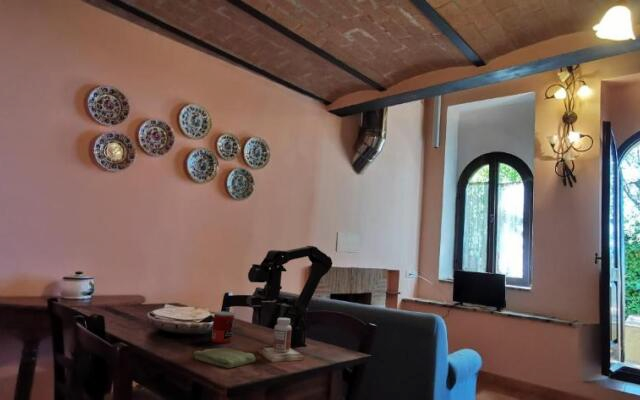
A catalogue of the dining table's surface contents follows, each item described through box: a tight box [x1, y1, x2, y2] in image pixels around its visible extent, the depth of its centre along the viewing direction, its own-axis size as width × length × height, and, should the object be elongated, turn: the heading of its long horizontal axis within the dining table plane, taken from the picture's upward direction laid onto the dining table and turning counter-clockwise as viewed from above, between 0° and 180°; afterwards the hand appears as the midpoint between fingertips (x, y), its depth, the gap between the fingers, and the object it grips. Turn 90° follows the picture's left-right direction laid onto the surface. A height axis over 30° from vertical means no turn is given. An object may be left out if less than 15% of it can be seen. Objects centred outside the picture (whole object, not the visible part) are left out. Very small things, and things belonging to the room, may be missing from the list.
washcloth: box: [193, 347, 256, 369], centre depth 139 cm, size 13×18×3 cm
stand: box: [258, 346, 305, 363], centre depth 149 cm, size 12×12×2 cm
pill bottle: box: [272, 317, 292, 352], centre depth 150 cm, size 6×6×11 cm
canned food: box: [211, 310, 235, 345], centre depth 166 cm, size 8×8×11 cm
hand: (269, 323), depth 162 cm, fingers open, 9 cm apart
